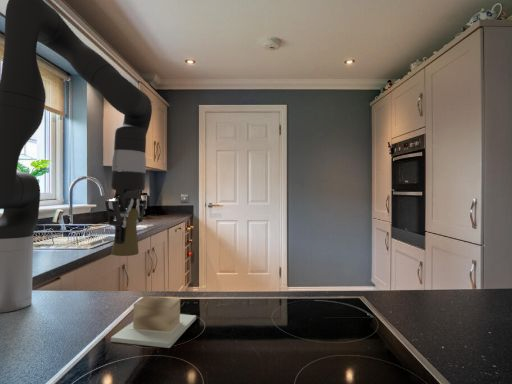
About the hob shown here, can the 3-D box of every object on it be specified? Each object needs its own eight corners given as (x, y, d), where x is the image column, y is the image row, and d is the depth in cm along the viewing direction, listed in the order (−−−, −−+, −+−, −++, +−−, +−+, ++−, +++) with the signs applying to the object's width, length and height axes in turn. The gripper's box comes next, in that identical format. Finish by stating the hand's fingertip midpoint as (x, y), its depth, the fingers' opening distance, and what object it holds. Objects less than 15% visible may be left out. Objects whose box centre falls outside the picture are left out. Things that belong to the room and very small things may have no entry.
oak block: (133, 328, 64) (133, 303, 65) (144, 318, 69) (145, 296, 70) (170, 331, 63) (171, 306, 63) (179, 321, 68) (180, 298, 68)
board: (110, 341, 61) (110, 336, 61) (147, 314, 74) (147, 310, 74) (169, 348, 59) (169, 343, 59) (196, 319, 72) (196, 315, 72)
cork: (129, 256, 72) (131, 208, 72) (105, 254, 73) (108, 207, 73) (143, 252, 78) (145, 207, 78) (121, 250, 79) (124, 206, 79)
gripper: (131, 172, 83) (127, 237, 83) (95, 167, 69) (91, 245, 69) (157, 173, 82) (154, 239, 82) (126, 168, 68) (122, 248, 68)
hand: (125, 241), depth 76 cm, fingers closed on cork, 4 cm apart
